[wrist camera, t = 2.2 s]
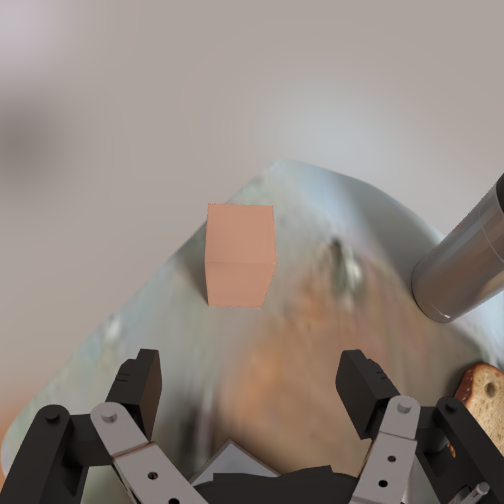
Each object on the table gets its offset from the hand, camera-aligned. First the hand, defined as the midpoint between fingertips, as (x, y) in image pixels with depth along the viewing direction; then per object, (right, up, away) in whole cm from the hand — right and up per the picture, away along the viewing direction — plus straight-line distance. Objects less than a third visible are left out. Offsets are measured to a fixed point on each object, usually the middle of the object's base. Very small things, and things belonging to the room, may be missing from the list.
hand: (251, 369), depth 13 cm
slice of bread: (+29, -19, +13) cm, 37 cm away
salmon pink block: (-2, +2, +21) cm, 21 cm away
